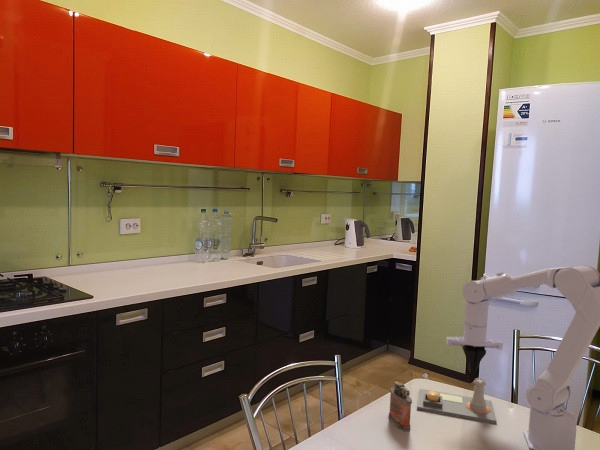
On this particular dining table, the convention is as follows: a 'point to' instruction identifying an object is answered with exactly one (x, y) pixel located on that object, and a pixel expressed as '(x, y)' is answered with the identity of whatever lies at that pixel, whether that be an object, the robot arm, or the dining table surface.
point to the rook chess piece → (478, 396)
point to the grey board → (455, 406)
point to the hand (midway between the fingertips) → (471, 372)
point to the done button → (432, 396)
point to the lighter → (400, 406)
